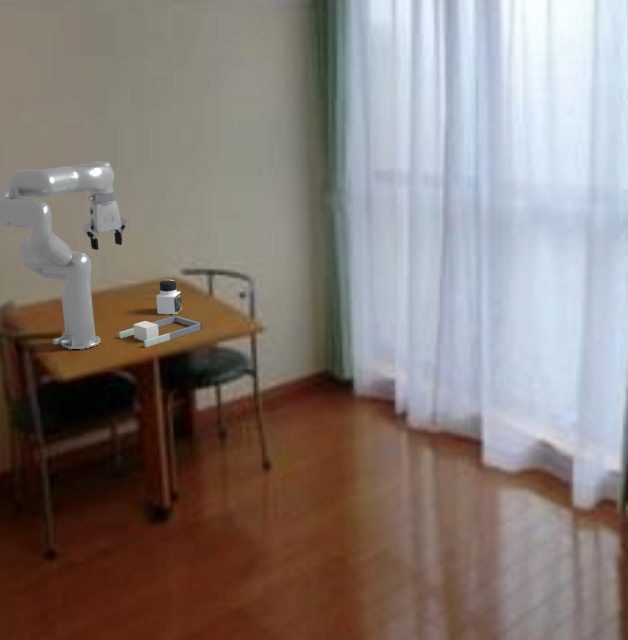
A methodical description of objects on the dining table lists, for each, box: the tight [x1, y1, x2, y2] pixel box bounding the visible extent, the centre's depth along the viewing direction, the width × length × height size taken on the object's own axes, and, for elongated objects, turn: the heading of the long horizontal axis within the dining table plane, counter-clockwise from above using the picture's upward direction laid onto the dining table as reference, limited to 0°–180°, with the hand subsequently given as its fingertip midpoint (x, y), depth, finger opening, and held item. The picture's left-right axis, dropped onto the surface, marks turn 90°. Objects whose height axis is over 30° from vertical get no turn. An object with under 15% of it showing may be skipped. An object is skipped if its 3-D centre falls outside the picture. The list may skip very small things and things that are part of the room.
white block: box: [132, 320, 160, 342], centre depth 287 cm, size 5×7×5 cm
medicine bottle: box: [155, 279, 183, 316], centre depth 315 cm, size 7×7×12 cm
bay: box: [118, 314, 204, 348], centre depth 292 cm, size 24×15×2 cm, turn 137°
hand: (107, 246), depth 295 cm, fingers open, 9 cm apart
